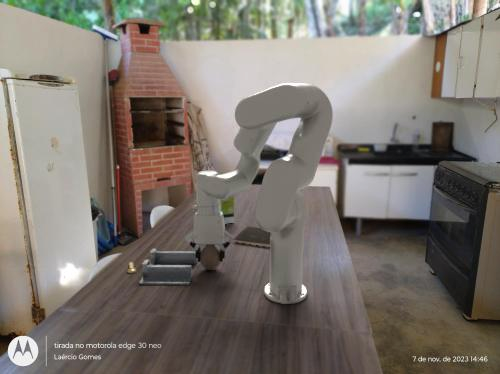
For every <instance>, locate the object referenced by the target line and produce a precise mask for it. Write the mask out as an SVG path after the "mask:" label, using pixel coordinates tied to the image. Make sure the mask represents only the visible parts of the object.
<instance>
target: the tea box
mask: <svg viewBox="0 0 500 374" xmlns="http://www.w3.org/2000/svg"><path fill="white" fill-rule="evenodd" d="M220 208H221V212H222V213H223V217H224V223H225V224H226V223H235V196H233V197H230V198H228V199H224V200H220Z"/></svg>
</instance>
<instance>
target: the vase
mask: <svg viewBox="0 0 500 374" xmlns="http://www.w3.org/2000/svg"><path fill="white" fill-rule="evenodd" d="M199 263H200V265H201V267H202V268H204V269H205V270H208V271H214V270H216V269H217V268H219V266H220V264H221V262H220V249H219V248H218V247H217V246H216V245H204V247H202V248H201V254H200V261H199Z"/></svg>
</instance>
